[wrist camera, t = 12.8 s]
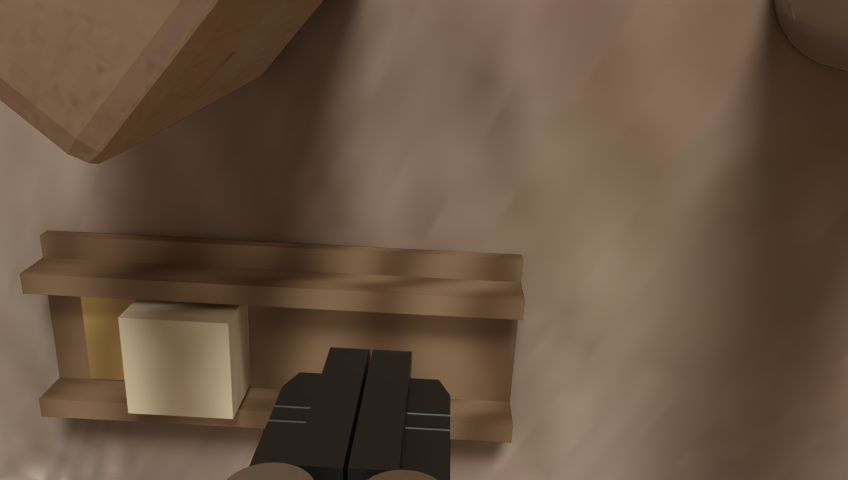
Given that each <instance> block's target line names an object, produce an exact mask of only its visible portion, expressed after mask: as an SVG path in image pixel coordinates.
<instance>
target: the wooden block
mask: <svg viewBox="0 0 848 480" xmlns="http://www.w3.org/2000/svg"><path fill="white" fill-rule="evenodd" d="M322 2H323V0H0V100H1V101H2V102H3V103H5V104H6V105H7V106H8V107H10V108H11V109H12V110H13V111H15V112H16V113H17V114H18V115H20V116H21V117H22V118H23V119H25V120H26V121H27V122H28V123H30V124H31V125H32V126H33V127H35V128H36V129H37V130H38V131H40V132H41V133H42V134H43V135H45V136H46V137H47V138H48V139H50V140H51V141H52V142H53V143H55V144H56V145H57V146H58V147H60V148H61V149H62V150H63V151H65V152H66V153H67V154H69V155H71V156H74V157H76V158H78V159H81V160H83V161H85V162H88V163H94V164H99V163H101V162H103V161H105V160H107V159H109V158H111V157H113V156H115V155H117V154H119V153H121V152H123V151H125V150H127V149H129V148H130V147H132V146H134V145H136V144H138V143H140V142H141V141H143V140H145V139H147V138H149V137H151V136H152V135H154V134H156V133H158V132H160V131H162V130H163V129H165V128H167V127H169V126H171V125H173V124H174V123H176V122H178V121H180V120H182V119H184V118H185V117H187V116H189V115H191V114H193V113H195V112H196V111H198V110H200V109H202V108H204V107H206V106H207V105H209V104H211V103H213V102H215V101H217V100H218V99H220V98H222V97H224V96H226V95H228V94H229V93H231V92H233V91H235V90H237V89H239V88H240V87H242V86H244V85H246V84H248V83H250V82H251V81H253V80H255V79H257V78H259V77H261V76H262V74H263V73H264V72H265V71H266V69H267V68H268V67H269V66H270V65H271V63H272V62H273V61H274V60H275V59H276V57H277V56H278V55H279V54H280V53H281V51H282V50H283V49H284V48H285V46H286V45H287V44H288V43H289V42H290V40H291V39H292V38H293V37H294V36H295V34H296V33H297V32H298V31H299V30H300V28H301V27H302V26H303V25H304V23H305V22H306V21H307V20H308V19H309V17H310V16H311V15H312V14H313V13H314V11H315V10H316V9H317V8H318V7H319V5H320V4H321V3H322Z"/></svg>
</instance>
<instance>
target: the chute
mask: <svg viewBox="0 0 848 480" xmlns="http://www.w3.org/2000/svg"><path fill="white" fill-rule="evenodd" d="M40 239H41V246H42V253H43V258H42V259H40V260H39V261H37V262H36V263H35V264H33V265H32V266H30V267H29V268H27V269H26V270H25V271H23V272H22V273H20V277H21V284H22V291H23V294H41V295H48V296H49V303H50V310H51V317H52V325H53V332H54V339H55V346H56V353H57V360H58V367H59V375H60V378H59V379H58V380H57V381H56V382H55V383H54V384H53V385H52V386H51V387H50V388H49V389H48V390H47V391H46V392H45V393H44V394H43V395H42V396H41V397H40V398H39V402H40V408H41V415H42V416H45V417H63V418H81V419H98V420H116V421H134V422H152V423H169V424H187V425H205V426H223V427H241V428H258V429H265V427H266V425H267V422H269V417H270V415H271V412H272V410H273V407H275V403H276V400H277V398H278V395H279V393H280V390H281V388H282V386H283V385H285V384H286V383H287V382H288V381H290V380H291V379H292V378H293V377H294V376H296V375H297V374H298V373H299V372H305V373H322V371H323V368H324V365H325V362H326V359H327V356H328V353H329V350H330V348H331V347H338V348H356V349H370V352H371V355H372V351H373V349H377V350H395V351H412V371H411V378H417V379H436V380H440V382H441V383H442V385H443V386H444V387H445V389H446V390H447V392H448V393H449V394H450V439H454V440H472V441H489V442H507V443H511V439H512V429H513V423H512V415H511V408H510V394H511V383H512V373H513V362H514V351H515V340H516V329H517V320H523V314H524V303H525V299H524V295H523V290H522V285H521V275H522V265H523V258H522V255H512V254H492V253H473V252H453V251H434V250H414V249H395V248H376V247H356V246H337V245H317V244H298V243H278V242H259V241H239V240H220V239H200V238H181V237H162V236H142V235H123V234H103V233H84V232H64V231H46V232H44V233H42V234H41V235H40ZM135 300H154V301H173V302H192V303H211V304H229V305H248V324H249V348H250V372H251V384H250V386H249V388H248V390H247V392H246V394H245V396H244V398H243V400H242V402H241V404H240V406H239V408H238V410H237V412H236V414H235V416H234V418H233V419H223V418H205V417H187V416H169V415H151V414H134V413H128V406H127V397H126V387H125V378H124V369H123V359H122V350H121V341H120V331H119V322H118V317H119V316H120V315H121V314H122V313H123V312H124V311H125V310H126V309H127V308H128V307H129V306H130V305H131V304H132V303H133V302H134V301H135Z"/></svg>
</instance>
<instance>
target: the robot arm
mask: <svg viewBox="0 0 848 480" xmlns="http://www.w3.org/2000/svg"><path fill="white" fill-rule="evenodd" d="M774 3H775V11H776V14H777V17H778V20H779V23H780V25H781V28H782V30H783V32H784V33H785V35H786V36H787V38H788V39H789V41H790V42H791V44H792V45H793V46H794V47H796V48H797V49H798V50H799V51H800V52H801V53H802V54H803V55H804V56H806V57H808V58H810V59H812V60H814V61H815V62H817V63H819V64H822V65H826V66H829V67H833V68H837V69H841V70H844V71H848V0H774ZM411 371H412V351H395V350H377V349H373V351H372V355H371V352H370V349H356V348H338V347H331V348H330V350H329V353H328V356H327V359H326V362H325V365H324V368H323V371H322V373H305V372H299V373H298V374H297V375H296V376H294V377H293V378H292V379H291V380H290V381H288V382H287V383H286V384H285V385H283V386H282V388H281V390H280V393H279V395H278V398H277V400H276V403H275V407H273V410H272V412H271V415H270V417H269V422H267V425H266V427H265V429H264V432H263V434H262V437H261V439H260V442H259V444H258V446H257V449H256V451H255V454H254V456H253V459H252V461H251V464H250V466H249V467H247V468H244V469H242V470H240V471H238V472H236V473H235V474H233V475H232V476H230V477H229V478H228V479H227V480H450V394H449V393H448V392H447V390H446V389H445V387H444V386H443V385H442V383H441V382H440V380H436V379H417V378H411Z"/></svg>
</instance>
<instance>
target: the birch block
mask: <svg viewBox="0 0 848 480" xmlns="http://www.w3.org/2000/svg"><path fill="white" fill-rule="evenodd" d="M118 322H119V331H120V341H121V350H122V359H123V369H124V378H125V387H126V397H127V406H128V413H134V414H151V415H169V416H187V417H205V418H223V419H233V418H234V416H235V414H236V412H237V410H238V408H239V406H240V404H241V402H242V400H243V398H244V396H245V394H246V392H247V390H248V388H249V386H250V384H251V372H250V348H249V324H248V305H229V304H211V303H192V302H173V301H154V300H135V301H134V302H133V303H132V304H131V305H130V306H129V307H128V308H127V309H126V310H125V311H124V312H123V313H122V314H121V315H120V316H119V317H118Z"/></svg>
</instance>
